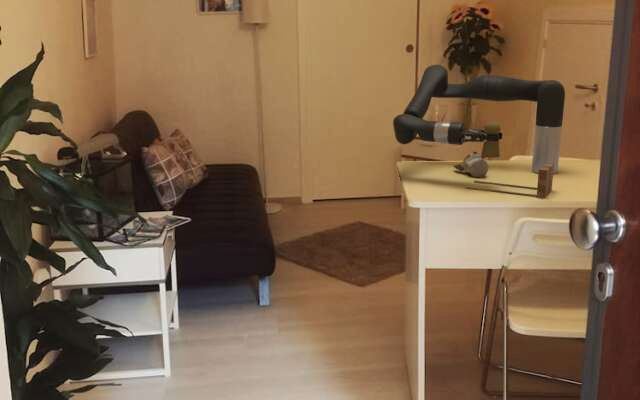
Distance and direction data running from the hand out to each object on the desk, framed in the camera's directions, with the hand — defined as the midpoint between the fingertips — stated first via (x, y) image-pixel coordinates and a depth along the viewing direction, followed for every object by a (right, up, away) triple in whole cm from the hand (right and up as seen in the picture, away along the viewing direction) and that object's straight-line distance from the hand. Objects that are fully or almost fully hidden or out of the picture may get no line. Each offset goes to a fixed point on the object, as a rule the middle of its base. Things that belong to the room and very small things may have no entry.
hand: (500, 137), depth 234 cm
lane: (+3, -17, +3) cm, 17 cm away
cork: (-2, -6, +3) cm, 7 cm away
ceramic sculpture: (-4, -12, +25) cm, 28 cm away
